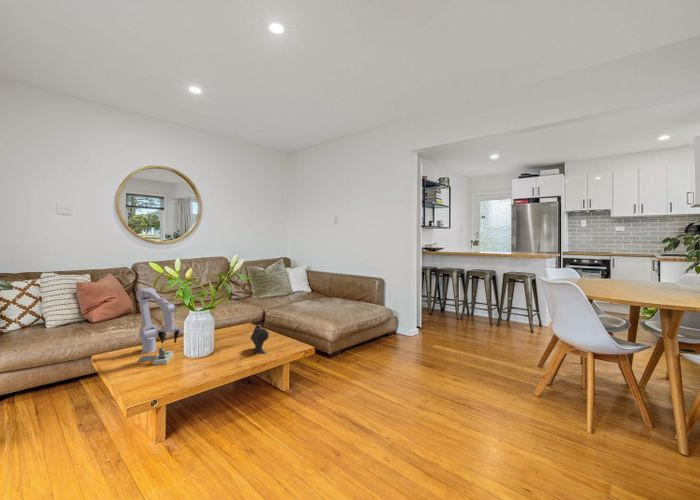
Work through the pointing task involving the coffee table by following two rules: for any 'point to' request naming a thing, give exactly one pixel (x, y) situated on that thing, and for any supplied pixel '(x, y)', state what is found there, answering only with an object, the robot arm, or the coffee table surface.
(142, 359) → the rubber mat
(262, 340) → the dark grey faceted sculpture
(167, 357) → the socket block
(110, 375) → the coffee table surface
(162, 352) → the steel peg
